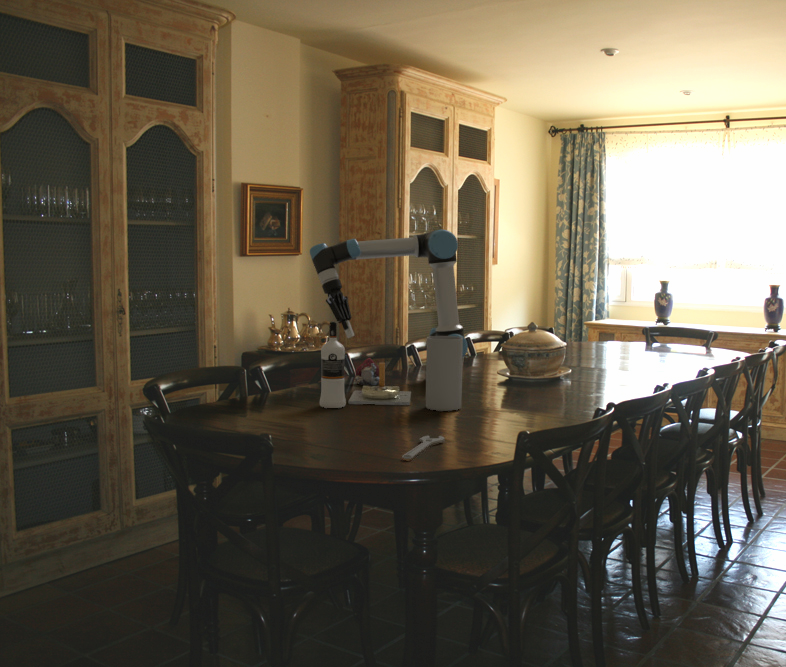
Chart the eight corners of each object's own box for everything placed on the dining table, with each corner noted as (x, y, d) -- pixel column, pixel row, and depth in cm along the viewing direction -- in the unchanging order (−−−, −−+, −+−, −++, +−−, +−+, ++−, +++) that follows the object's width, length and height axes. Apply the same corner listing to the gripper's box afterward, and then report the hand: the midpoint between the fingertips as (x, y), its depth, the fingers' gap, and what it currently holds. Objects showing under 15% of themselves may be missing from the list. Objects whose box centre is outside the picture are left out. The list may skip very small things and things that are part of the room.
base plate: (410, 394, 284) (411, 390, 284) (409, 405, 262) (409, 401, 262) (354, 393, 285) (354, 389, 285) (348, 404, 263) (348, 400, 263)
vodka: (347, 404, 263) (348, 321, 260) (343, 409, 253) (344, 323, 251) (322, 403, 264) (322, 320, 261) (317, 408, 254) (317, 322, 251)
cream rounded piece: (400, 392, 280) (400, 363, 279) (398, 399, 266) (399, 368, 265) (363, 391, 281) (364, 362, 280) (360, 398, 267) (360, 367, 266)
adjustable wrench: (410, 464, 188) (410, 457, 188) (388, 460, 191) (388, 454, 191) (447, 442, 210) (447, 436, 210) (426, 439, 213) (426, 433, 213)
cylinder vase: (418, 407, 258) (419, 337, 256) (443, 403, 266) (445, 335, 264) (442, 413, 249) (444, 340, 247) (468, 409, 257) (470, 338, 255)
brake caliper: (384, 376, 313) (381, 356, 305) (381, 395, 305) (378, 375, 297) (358, 375, 315) (355, 355, 307) (354, 394, 307) (350, 374, 299)
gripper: (332, 284, 299) (352, 338, 297) (313, 285, 288) (334, 341, 285) (346, 277, 295) (366, 332, 293) (328, 278, 284) (349, 334, 282)
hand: (351, 336), depth 289 cm, fingers closed
